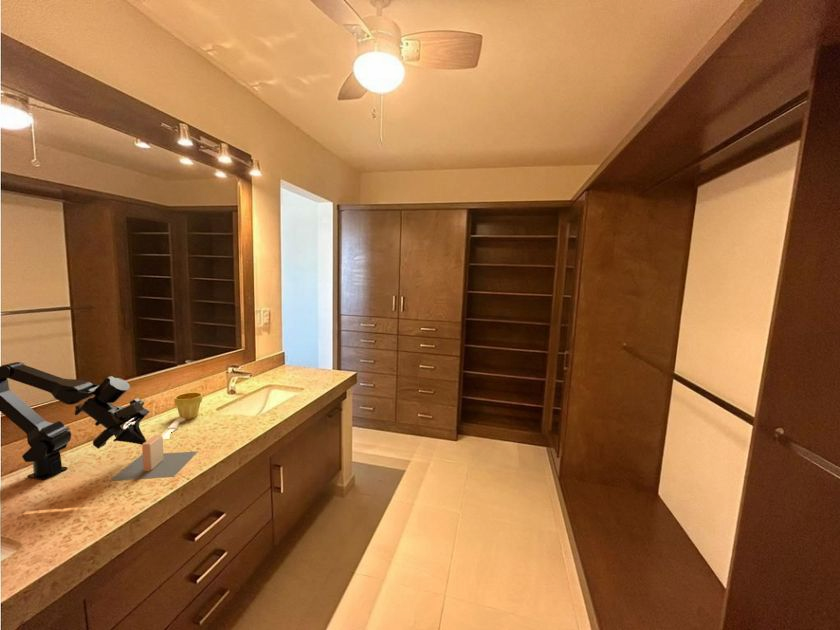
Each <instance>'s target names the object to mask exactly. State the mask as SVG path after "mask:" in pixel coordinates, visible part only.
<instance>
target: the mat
mask: <svg viewBox="0 0 840 630" xmlns="http://www.w3.org/2000/svg"><path fill="white" fill-rule="evenodd" d="M198 452H199V451H198V450H197V451H184V452H183V451H180V452H163V456H164V459H163V460H162V461H161V462H160V463H159V464H158V465H157V466H156V467H155V468H153V469H152V470H151V471H144V469H143V453H142V454H141V455H139V456H138V457H137V458H136V459H134V460H133V461H132V462H131V463H129V464H128V465H127V466H125V467H124V468H123V469H121V471H119V472H118V473H117V474H115V476H113V477H112V478H110V479H109V480H108V481H109V482H115V481H129V480H132V481H133V480H145V479H146V480H147V479H159V478H162V479H164V478H174V477H175V476H176V475H177V474H179V472H180V471H181V470H182V469H183V468H184V467H185V466H187V464H188V463H189V462H190V461H191V460H192V459H193V457H195V456H196V454H197V453H198Z"/></svg>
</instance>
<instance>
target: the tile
mask: <svg viewBox="0 0 840 630" xmlns="http://www.w3.org/2000/svg"><path fill="white" fill-rule="evenodd" d="M162 434H163V433H162ZM162 434H160V433H159V434H154V435H153V436H151V437H149V438H148V439H146V442H145V443H143V444H142V445H141V448H142V454H143V469H144V471H151V470H152V469H153V468H155V467H156V466H157V465H158V464H159V463H160V462H161V461H162V460H163V459H164V456H163V453H164V442H163V441H164V439H163V436H162Z"/></svg>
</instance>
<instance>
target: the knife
mask: <svg viewBox="0 0 840 630" xmlns="http://www.w3.org/2000/svg"><path fill="white" fill-rule="evenodd" d="M185 420H186V419H185V418H182V417H180V416H179V417H177V418H176V419H175V420H174V421H173V422H172V423H171V424H170V425H169V426H168V427H167V428H166V430H164V432H163V433H162V436H163V440H166V439H168V440H169V439H171V437H170V435H171V432H172V433H173V432H175V431H177V430H176V429H178V430H179V425H180V423H182V422H185ZM177 426H178V427H177Z"/></svg>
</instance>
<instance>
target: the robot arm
mask: <svg viewBox="0 0 840 630" xmlns="http://www.w3.org/2000/svg"><path fill="white" fill-rule="evenodd" d="M9 380H11V381H12V380H13V381H14V382H15V381H16V382H19V383H22V384H25V385H27V386H31V387H33V388H36V389H39V390H42V391H43V392H44V391H45V392H48V393H49V394H51V395H52V396H53V398H54V399H55V400H57V401H59V402H60V403H63V404H65V405H69V406H71V405H75V404H77V403H80V402H82V401H84V400H85V401H84V402H83V403H80V404H77V405H75V411H74V415H75V416H78V415H81V414H82V413H85V414H86V415H87V416H89V417H90V418H92V419H93V420H94V421H96V422H95V423H94V425H95V426H96V427H98V426H103V428H105V429H104V430H102V431H101V432H100V434H99V435H97V436H96V437H95V438H94V439H93V440H92V446H93V447H94V448H96V449H101V448H103V447H104V446H105V445H106V444H107V442H108V441H109V440H110V439H111V438H112V437H115V438H114V439H113V442H122V443H131V444H135V445H141V446H142V444H143V443H145V442H146V441H147V439H146V438H145V435H144V434H143V432H142V431H141V429H140V422H141V421H142V420H143V419H145V418H146V416H148V415H149V414H150V411H149V410H148V409H147V408H144V404H145V401H144V400H143V401H142V400H141V399H140V398H138V397H137V398H134V399H132V400H131V401H130V400H129V405H126V406H122V405H117V406H115V405H113V404H112V403H116V402H117V401H119V399H120V398H121V397H122V396H123V395H125V394H126V392H128V390H129V389H131V385H130V384H129V382H128V381H126V380H125V379H123V378H119V377H114V376H113V375H110V376H107V377H105V378H104V379H103V381H102V382H101V383H100V384H95V383H92V382H90V381H86V380H82V379H75V378H74V379H72V378H65V377H64V378H63V377H60V376H57V375H55V374H52V373H48V372H46V371H43V370H40V369H37V368H34V367H32V366H30V365H29V366H28V365H26V364H25V363H23V362H19V361H15V362H14V361H13V362H11V363H10V362H9V363H6V364H2V365H0V413H2V415H4V416H5V417H6V418H7V419H8V420H10V421H11V422H12V423H13V424H15V426H17V427H18V428H19V429H20V430H21V431H23V432H24V433H25V434H26V439H27V445H29V447H30V448H29V449H28V450H27V451H26V452H25V453H24V454H22V457H21V458H22V459H23V461H24V462H25V463H32V469H33V473H30V474H28V475H27V476H26V477H27V478H29V479H35V480H36V479H37V480H46V479H48V478H52V477H54V476H55V475H58V474H60V473H61V472H64V471H66V470H68V468H69V467H67V466H62V457H61V451H62V450H64V449H66V448H67V445H68V444H69V442H70V441H71V439H72V433H71V431H70V430H71V428H69V427H67V426H65V425H64V423H63V422H61V421H60V420H58V421H55V422H49V421H47V420H45V419H44V417H42V416H41V415H40V414H38V413H37V412H36V411H35V410H34V409H33V408H32V407H30V406H29V404H28V403H26V402H25V401H24V400H22V399H21V397H19V396H18V395H16V394H15V393H14V392H13V391H12V390H11V389H10V385H9ZM92 396H93V397H92Z"/></svg>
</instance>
